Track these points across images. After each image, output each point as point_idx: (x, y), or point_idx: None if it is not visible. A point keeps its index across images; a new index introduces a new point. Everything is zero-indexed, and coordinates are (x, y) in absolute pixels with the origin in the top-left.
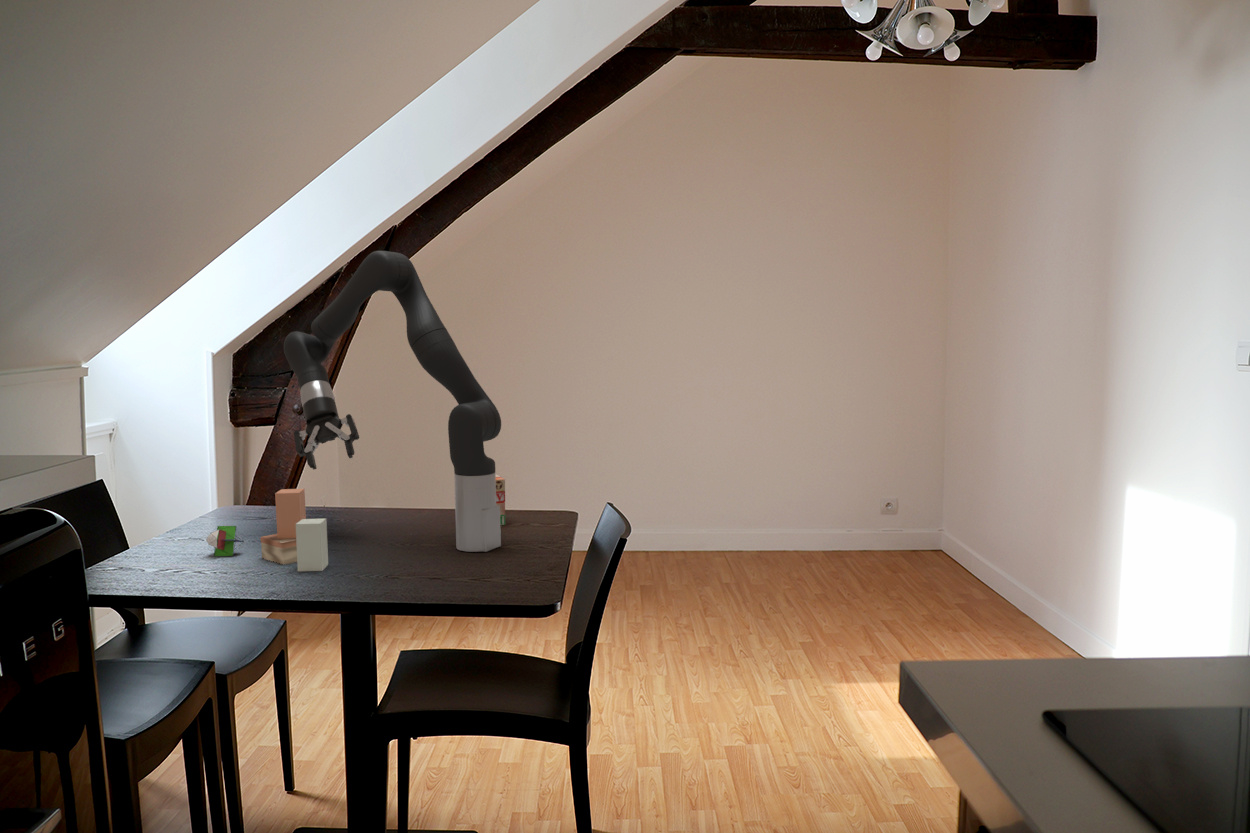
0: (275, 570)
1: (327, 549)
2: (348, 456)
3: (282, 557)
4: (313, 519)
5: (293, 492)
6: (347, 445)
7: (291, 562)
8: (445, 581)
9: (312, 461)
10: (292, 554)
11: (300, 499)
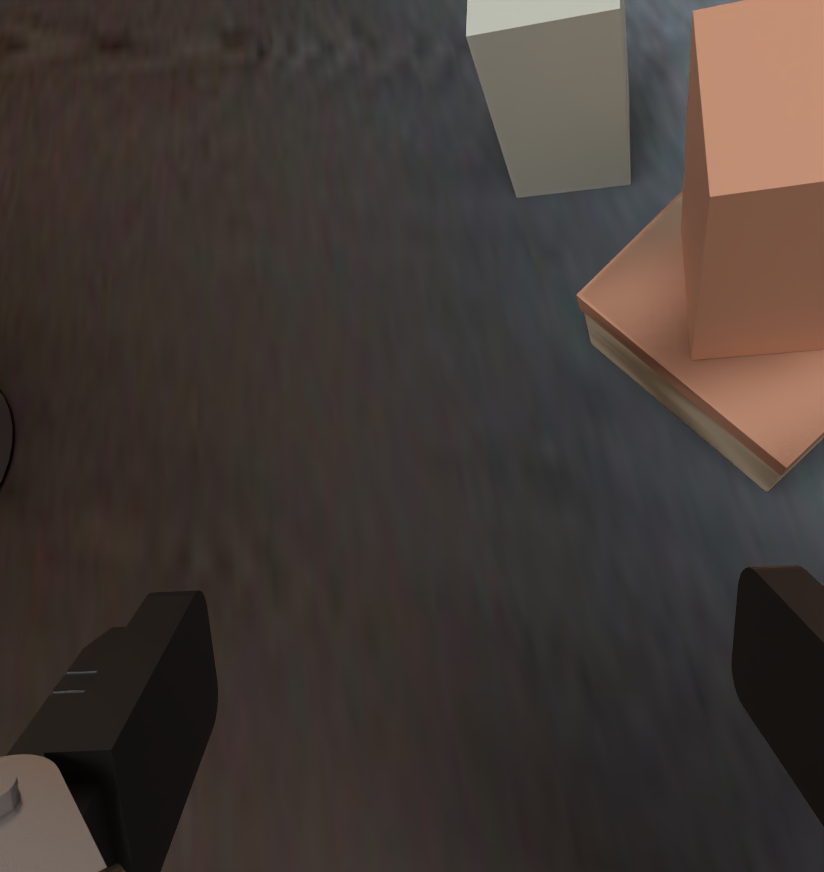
0: None
1: (503, 152)
2: (207, 622)
3: None
4: (541, 6)
5: (754, 18)
6: (106, 684)
7: None
8: (88, 17)
9: (787, 592)
10: None
11: (693, 95)
